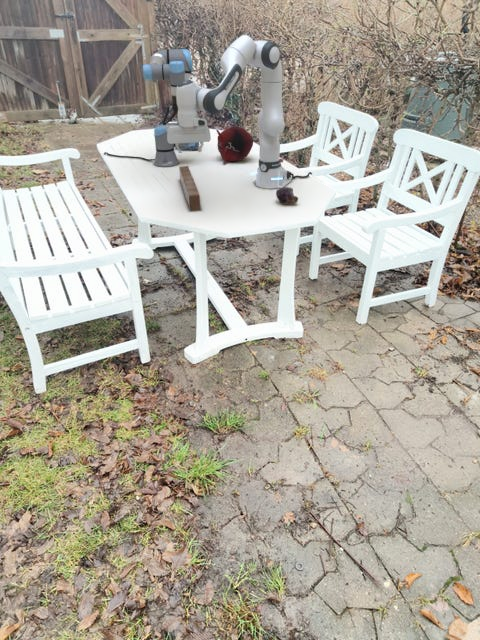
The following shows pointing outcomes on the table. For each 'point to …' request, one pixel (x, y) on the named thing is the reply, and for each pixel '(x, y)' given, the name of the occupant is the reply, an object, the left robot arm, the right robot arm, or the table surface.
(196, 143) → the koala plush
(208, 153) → the table surface
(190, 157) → the table surface
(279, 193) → the rock
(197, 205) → the beam
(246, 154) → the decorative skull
